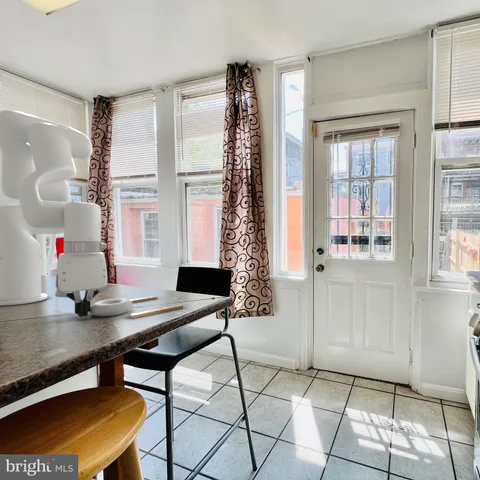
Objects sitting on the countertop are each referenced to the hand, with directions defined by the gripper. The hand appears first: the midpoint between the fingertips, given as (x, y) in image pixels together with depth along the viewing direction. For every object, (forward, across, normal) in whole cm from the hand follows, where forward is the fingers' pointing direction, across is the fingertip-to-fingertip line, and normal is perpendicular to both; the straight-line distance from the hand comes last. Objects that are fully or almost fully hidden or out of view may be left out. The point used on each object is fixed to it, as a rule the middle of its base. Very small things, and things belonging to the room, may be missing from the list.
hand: (82, 315), depth 73 cm
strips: (+1, -15, 0) cm, 15 cm away
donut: (+1, -7, 0) cm, 7 cm away
